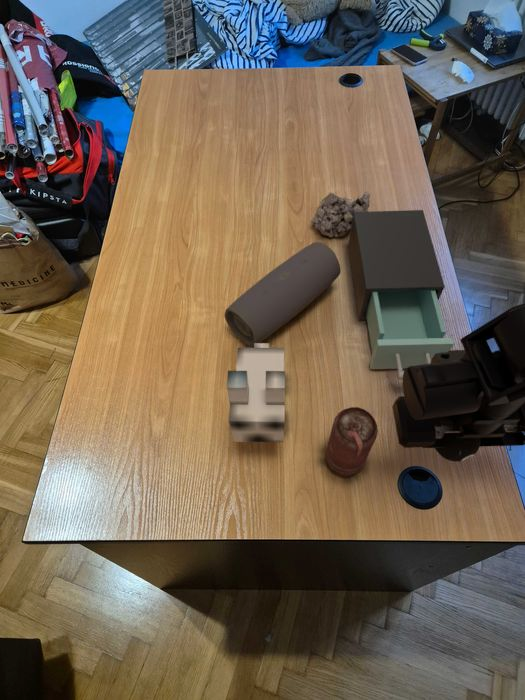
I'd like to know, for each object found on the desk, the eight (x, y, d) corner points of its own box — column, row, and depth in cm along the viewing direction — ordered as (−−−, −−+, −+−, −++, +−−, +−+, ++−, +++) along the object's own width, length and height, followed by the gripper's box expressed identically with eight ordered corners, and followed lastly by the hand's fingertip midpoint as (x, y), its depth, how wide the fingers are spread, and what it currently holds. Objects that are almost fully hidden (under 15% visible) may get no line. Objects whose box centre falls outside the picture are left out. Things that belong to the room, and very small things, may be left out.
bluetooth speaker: (305, 266, 98) (308, 230, 89) (339, 290, 94) (345, 255, 85) (224, 330, 90) (219, 297, 81) (258, 359, 86) (256, 328, 77)
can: (333, 484, 73) (343, 453, 61) (319, 447, 76) (327, 410, 65) (369, 474, 74) (387, 441, 62) (354, 437, 77) (368, 399, 65)
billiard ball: (441, 473, 64) (455, 458, 59) (419, 435, 67) (430, 417, 62) (479, 458, 65) (496, 442, 60) (455, 421, 68) (469, 403, 63)
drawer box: (429, 319, 90) (444, 286, 81) (358, 320, 90) (366, 288, 82) (411, 245, 100) (423, 209, 92) (347, 246, 100) (353, 211, 92)
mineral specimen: (373, 196, 103) (358, 174, 95) (377, 235, 101) (362, 216, 93) (322, 212, 109) (303, 193, 101) (325, 249, 107) (306, 233, 99)
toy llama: (283, 365, 85) (284, 296, 68) (283, 459, 76) (284, 405, 59) (242, 365, 85) (233, 296, 68) (237, 458, 76) (225, 405, 59)
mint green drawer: (446, 391, 80) (461, 368, 74) (373, 393, 80) (382, 370, 74) (420, 287, 93) (431, 259, 86) (357, 288, 93) (363, 261, 86)
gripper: (553, 331, 57) (501, 390, 70) (398, 335, 57) (376, 394, 70) (589, 415, 51) (525, 463, 64) (416, 420, 51) (388, 467, 64)
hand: (451, 443), depth 66 cm, fingers closed on billiard ball, 6 cm apart
